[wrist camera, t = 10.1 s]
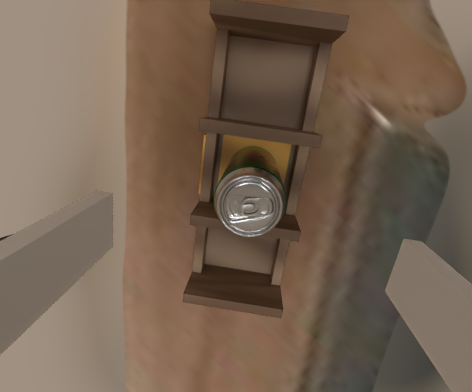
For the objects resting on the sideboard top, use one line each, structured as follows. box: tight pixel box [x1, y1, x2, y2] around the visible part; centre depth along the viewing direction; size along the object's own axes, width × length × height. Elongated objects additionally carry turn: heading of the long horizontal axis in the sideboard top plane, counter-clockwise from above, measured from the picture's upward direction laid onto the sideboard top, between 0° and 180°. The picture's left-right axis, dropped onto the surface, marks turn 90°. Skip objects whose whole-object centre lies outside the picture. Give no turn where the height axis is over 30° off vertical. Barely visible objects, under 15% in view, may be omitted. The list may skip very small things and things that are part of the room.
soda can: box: [213, 146, 287, 237], centre depth 24 cm, size 5×5×12 cm
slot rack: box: [183, 0, 349, 318], centre depth 27 cm, size 26×10×7 cm, turn 172°
